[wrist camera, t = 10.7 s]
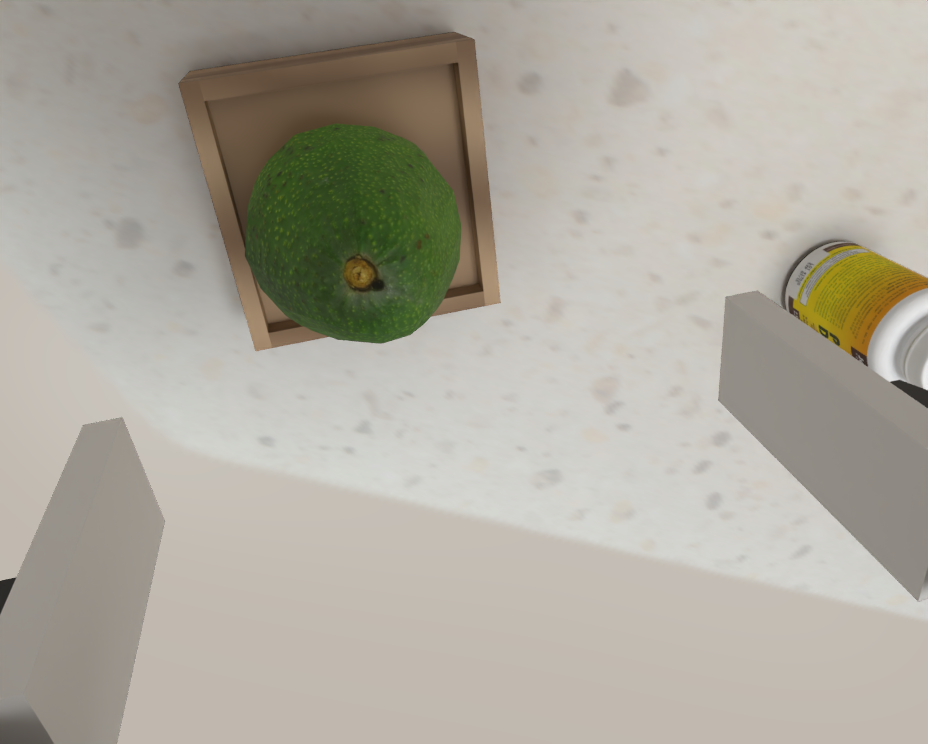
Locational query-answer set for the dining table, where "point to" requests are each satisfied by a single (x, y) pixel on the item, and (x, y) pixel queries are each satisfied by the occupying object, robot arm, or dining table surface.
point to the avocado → (353, 233)
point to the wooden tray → (354, 103)
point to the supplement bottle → (865, 308)
